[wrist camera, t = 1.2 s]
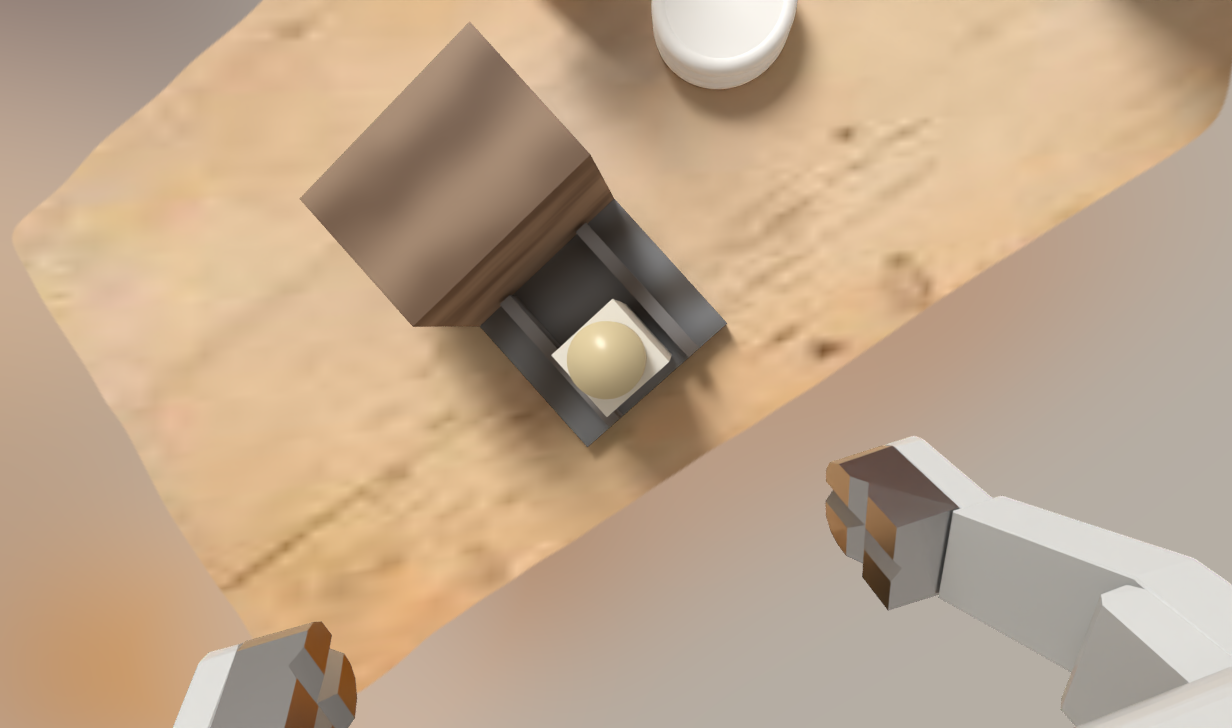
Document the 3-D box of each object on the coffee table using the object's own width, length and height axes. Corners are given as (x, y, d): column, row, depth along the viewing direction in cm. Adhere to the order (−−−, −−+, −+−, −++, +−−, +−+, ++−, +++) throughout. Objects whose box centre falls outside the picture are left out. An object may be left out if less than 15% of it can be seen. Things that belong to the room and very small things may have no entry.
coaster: (665, -55, 44) (664, -88, 41) (801, -41, 43) (812, -73, 40) (642, 83, 45) (639, 63, 42) (776, 100, 44) (784, 81, 41)
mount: (725, 323, 45) (742, 322, 33) (590, 443, 47) (555, 487, 34) (529, 106, 46) (469, 21, 33) (402, 232, 48) (299, 198, 35)
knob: (672, 354, 44) (668, 364, 33) (621, 399, 45) (602, 422, 34) (626, 304, 44) (608, 297, 33) (577, 349, 45) (543, 356, 34)
